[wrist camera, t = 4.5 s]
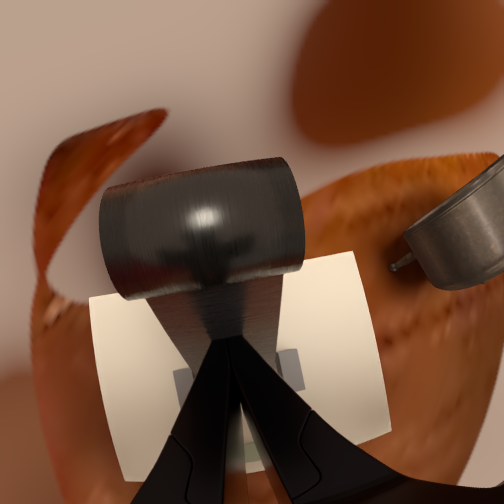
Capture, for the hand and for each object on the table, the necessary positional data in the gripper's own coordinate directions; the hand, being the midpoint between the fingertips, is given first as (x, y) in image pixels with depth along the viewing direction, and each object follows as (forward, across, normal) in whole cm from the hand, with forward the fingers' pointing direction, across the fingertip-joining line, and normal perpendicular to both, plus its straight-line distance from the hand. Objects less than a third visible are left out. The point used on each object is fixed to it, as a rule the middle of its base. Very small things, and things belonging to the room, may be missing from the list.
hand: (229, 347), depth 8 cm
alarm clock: (+9, -16, +5) cm, 19 cm away
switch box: (+6, 0, +8) cm, 10 cm away
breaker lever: (+3, 0, +5) cm, 6 cm away
